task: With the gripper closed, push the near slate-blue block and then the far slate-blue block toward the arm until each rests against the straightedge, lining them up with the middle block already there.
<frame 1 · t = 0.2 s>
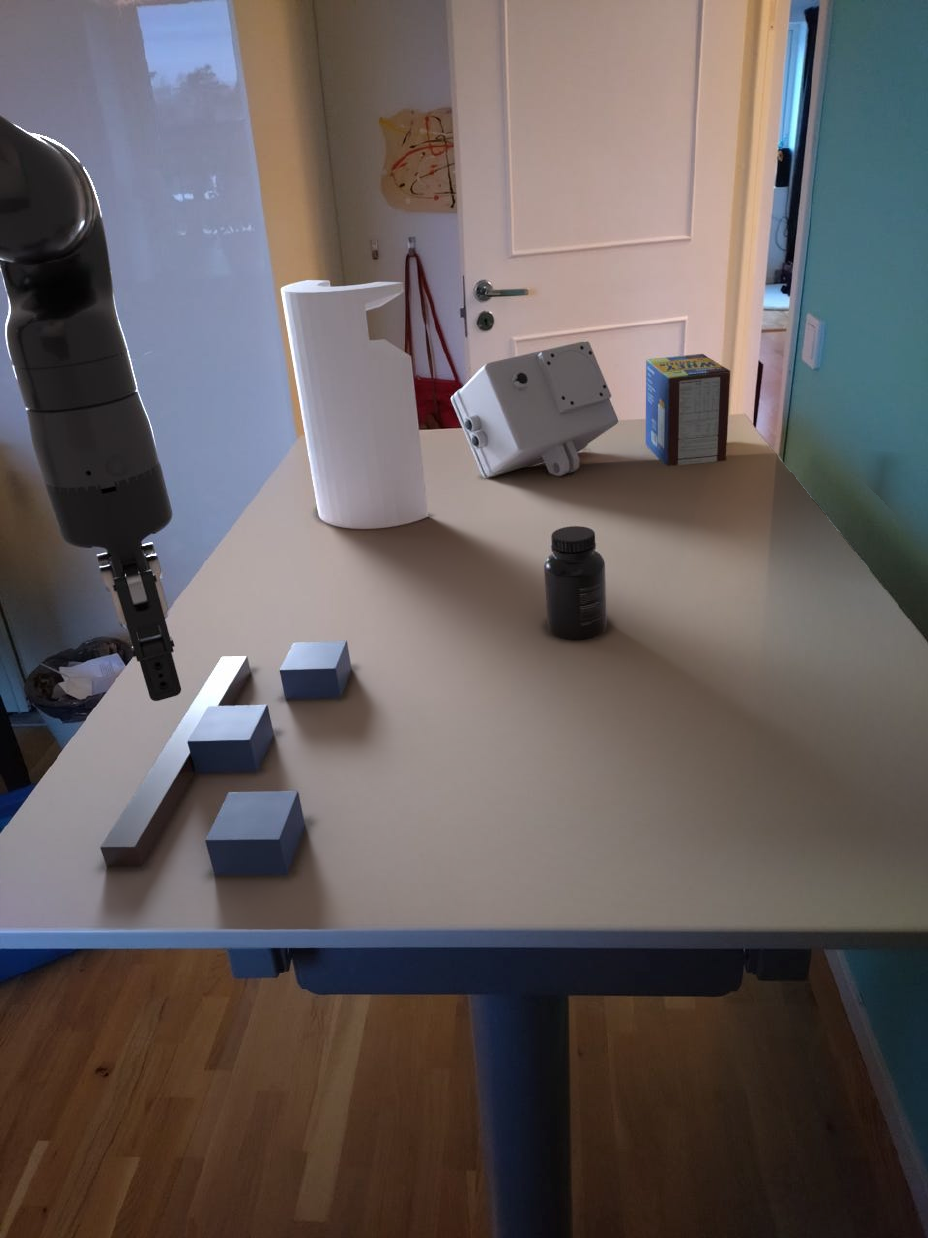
hand: (158, 670, 68), 17 cm above the table, tool pointing down, fingers open, 8 cm apart
protein box: (683, 454, 159), on the table
supplement bottle: (576, 631, 104), on the table
white tall curved block: (361, 517, 144), on the table
near block: (262, 853, 74), on the table
far block: (319, 687, 97), on the table
middle block: (236, 757, 87), on the table
straightedge: (191, 758, 87), on the table
junction box: (536, 467, 159), on the table
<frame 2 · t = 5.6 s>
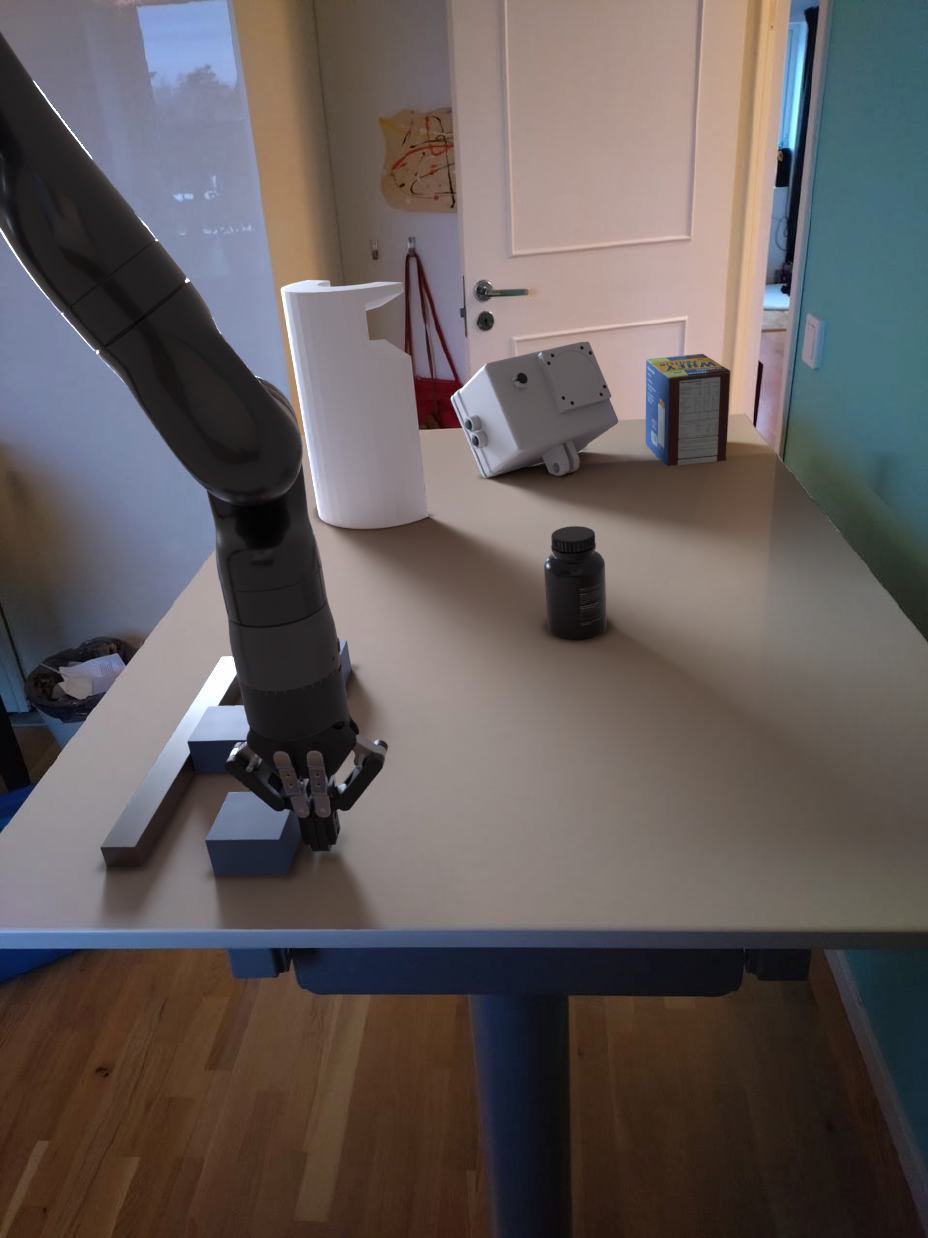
hand: (324, 844, 73), 1 cm above the table, tool pointing down, fingers closed
near block: (262, 853, 74), on the table, touching gripper
everything else where it was.
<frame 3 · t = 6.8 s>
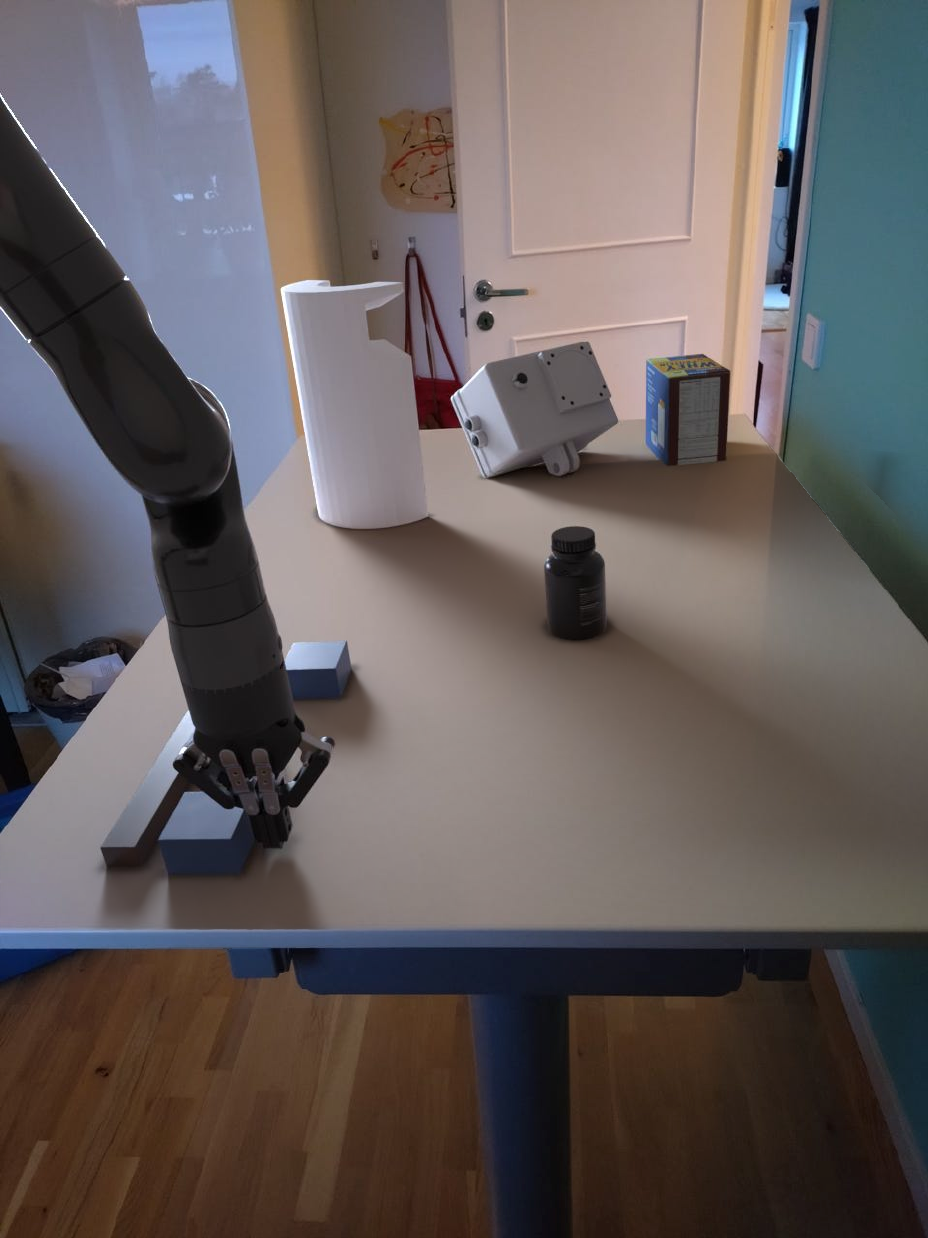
hand: (276, 841, 73), 1 cm above the table, tool pointing down, fingers closed
near block: (217, 852, 74), on the table, touching gripper
everything else where it was.
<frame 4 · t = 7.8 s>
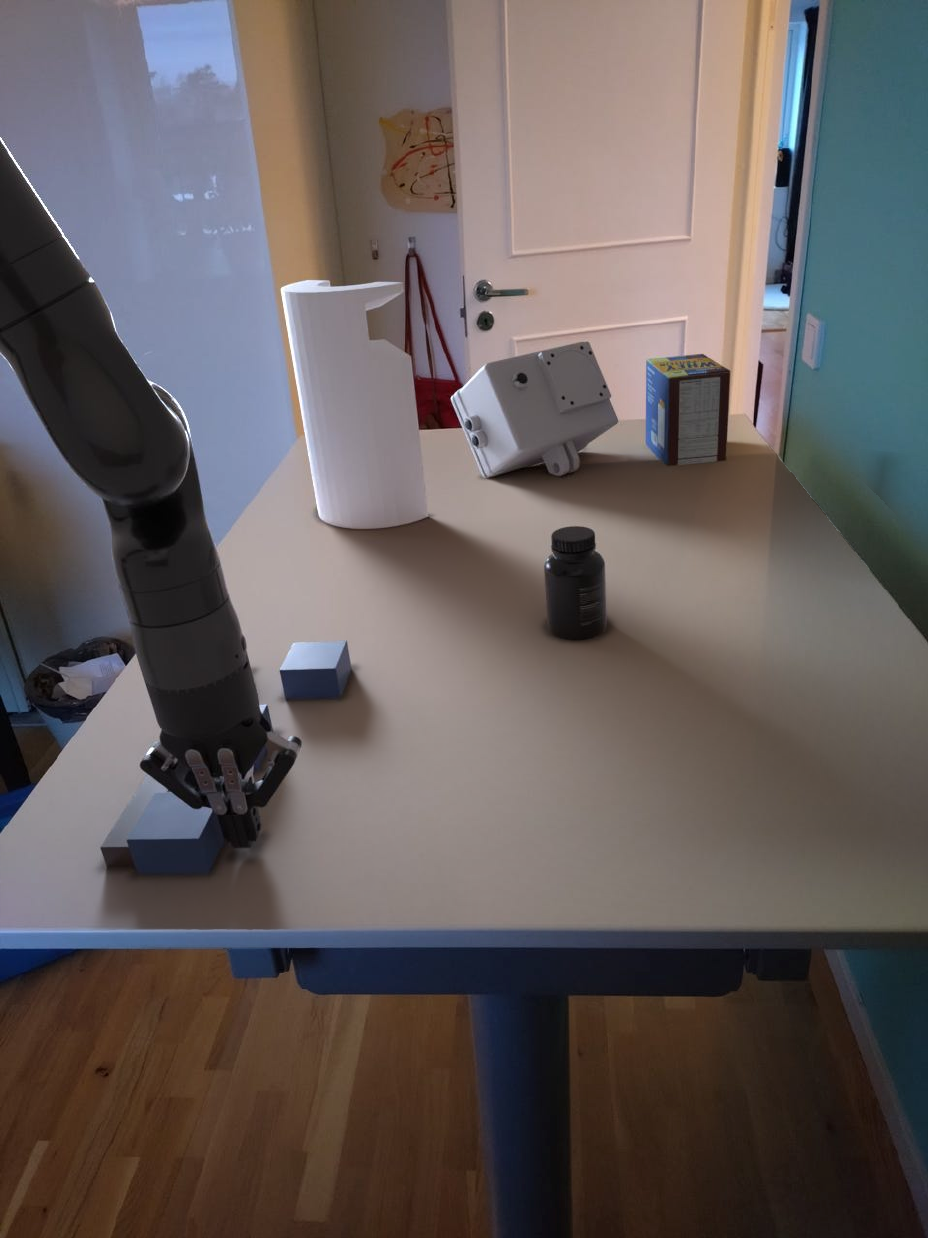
hand: (245, 841, 74), 1 cm above the table, tool pointing down, fingers closed
near block: (187, 852, 75), on the table, touching gripper, straightedge
everything else where it was.
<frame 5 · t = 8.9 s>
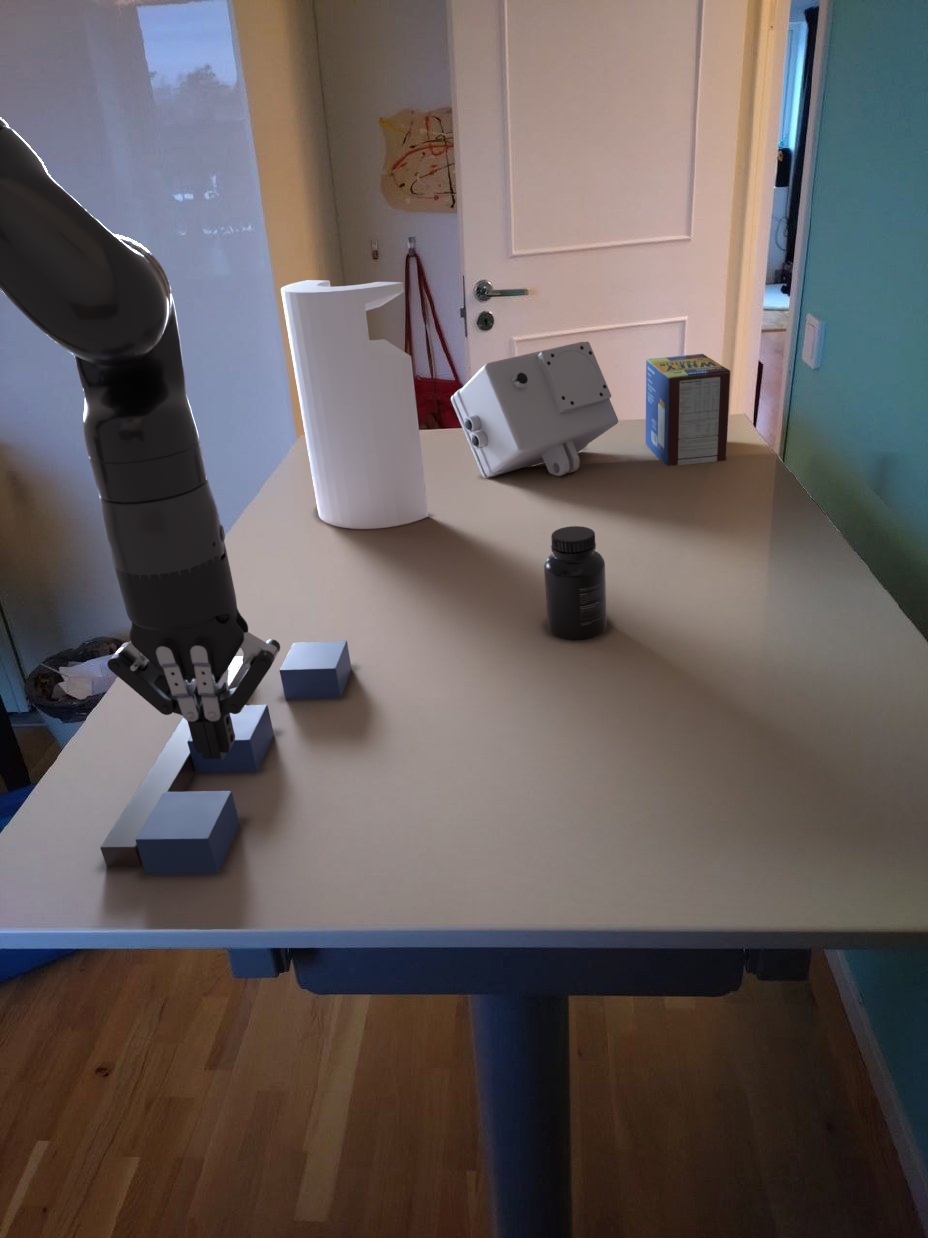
hand: (217, 753, 70), 10 cm above the table, tool pointing down, fingers closed
near block: (195, 852, 75), on the table
everything else where it was.
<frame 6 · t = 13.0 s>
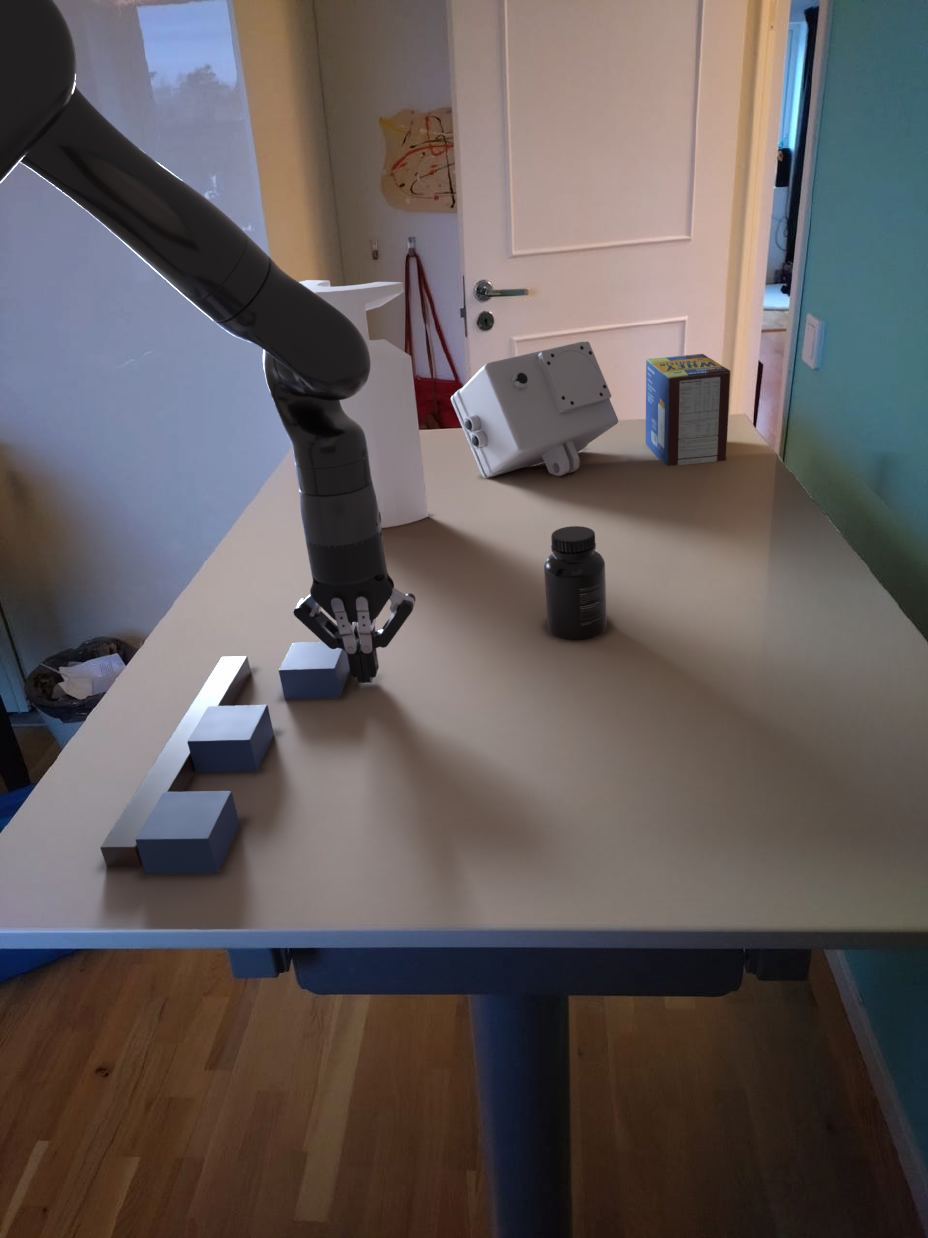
hand: (366, 678, 96), 1 cm above the table, tool pointing down, fingers closed
far block: (319, 687, 97), on the table, touching gripper
everything else where it was.
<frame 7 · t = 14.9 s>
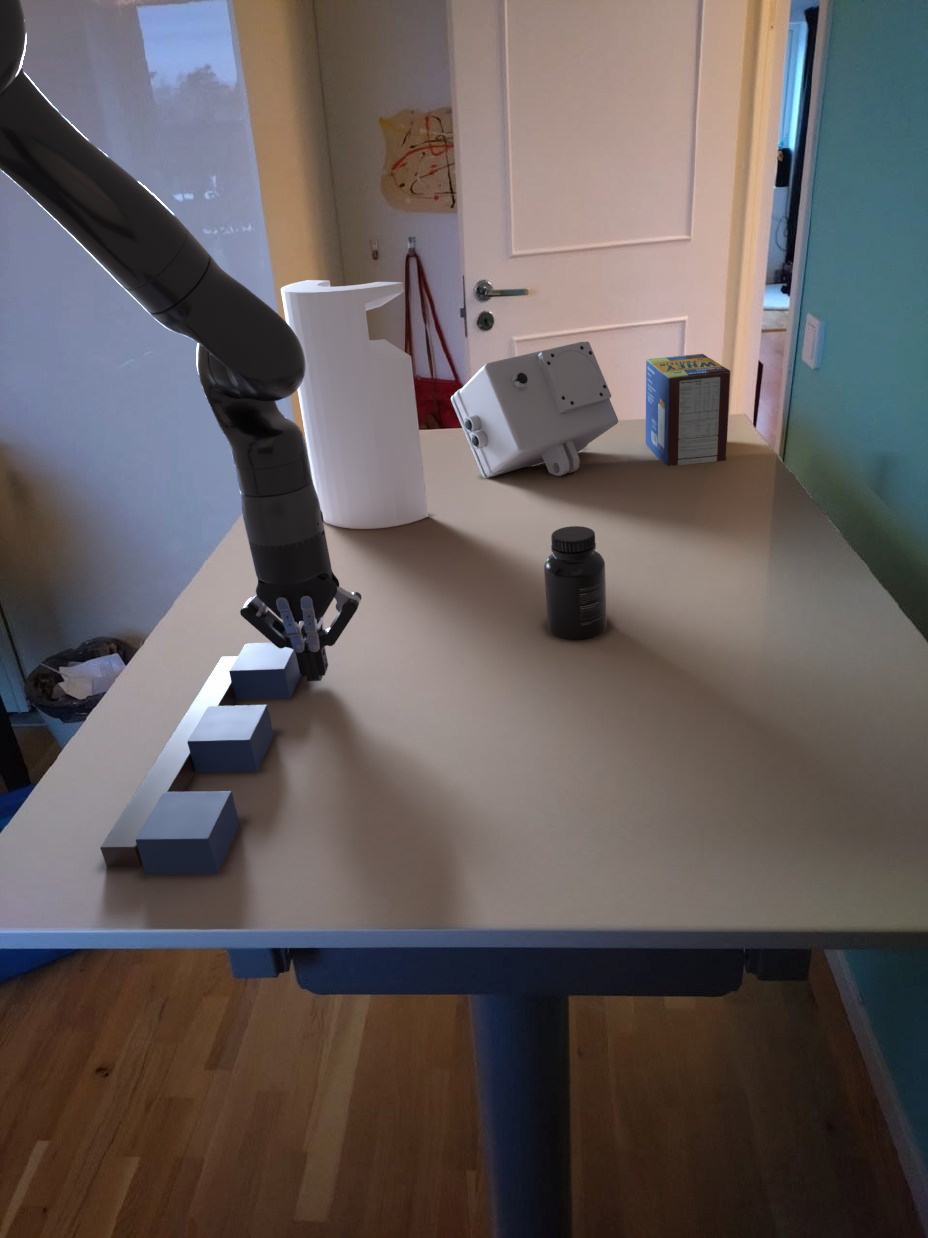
hand: (316, 677, 96), 1 cm above the table, tool pointing down, fingers closed
far block: (271, 687, 98), on the table, touching gripper, straightedge
everything else where it was.
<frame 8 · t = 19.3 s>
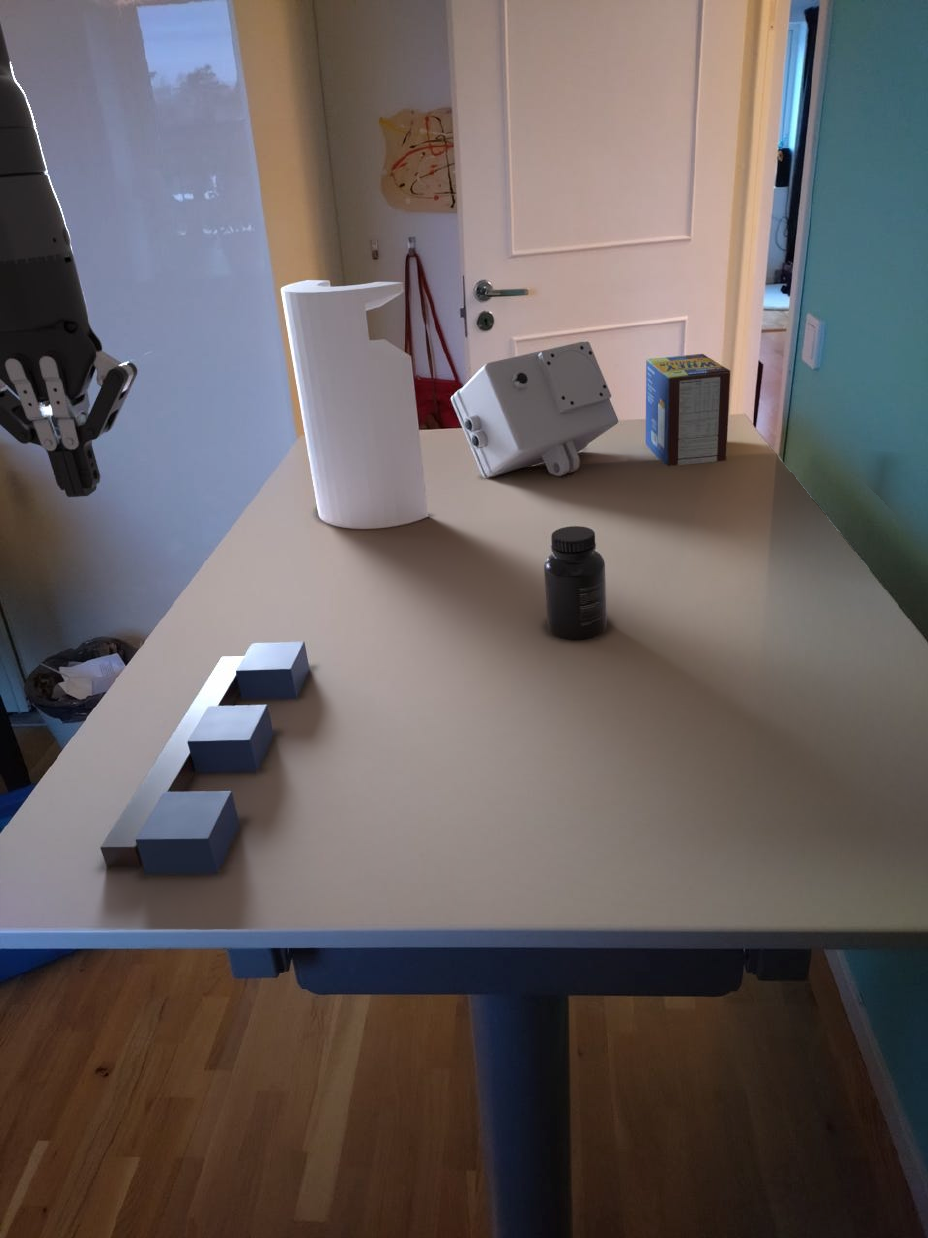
hand: (83, 493, 69), 29 cm above the table, tool pointing down, fingers closed
far block: (277, 687, 98), on the table
everything else where it was.
at the end: near block 0.3 cm from the target spot on the table beside the straightedge, on the table; far block 0.3 cm from the target spot on the table beside the straightedge, on the table; middle block moved 0.0 cm from its start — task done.
